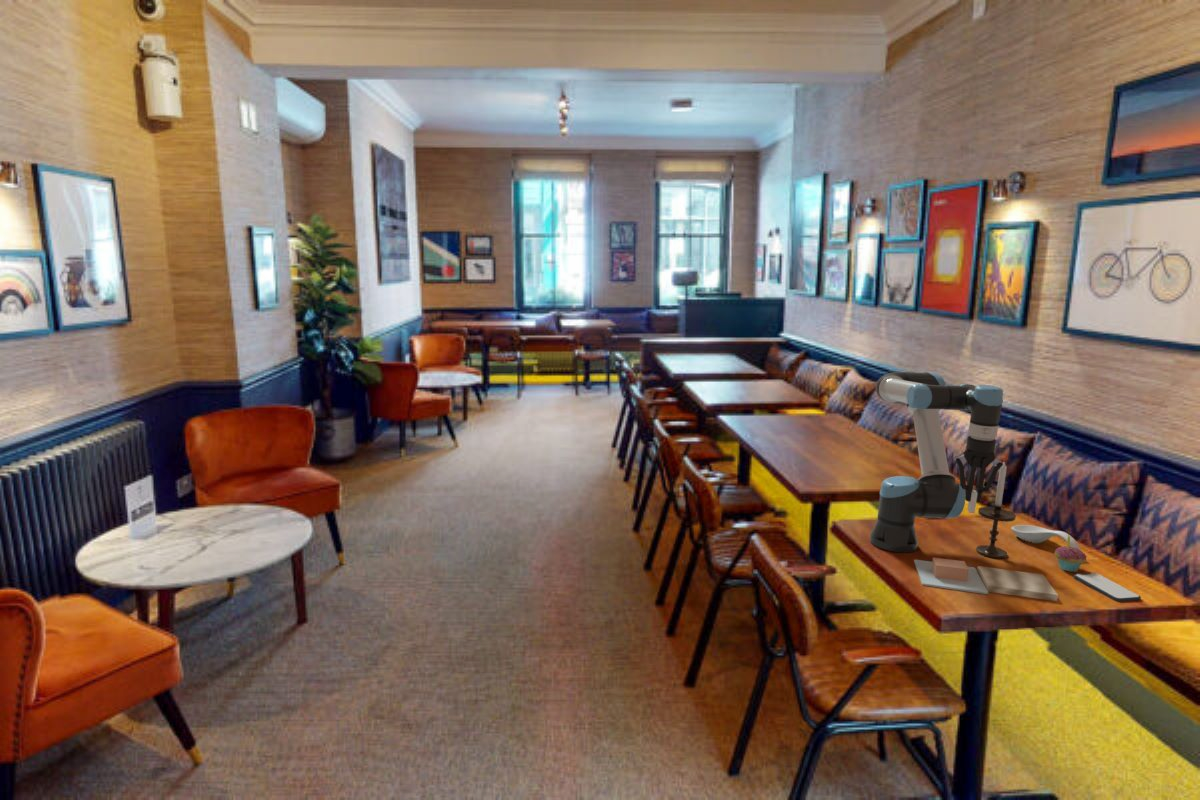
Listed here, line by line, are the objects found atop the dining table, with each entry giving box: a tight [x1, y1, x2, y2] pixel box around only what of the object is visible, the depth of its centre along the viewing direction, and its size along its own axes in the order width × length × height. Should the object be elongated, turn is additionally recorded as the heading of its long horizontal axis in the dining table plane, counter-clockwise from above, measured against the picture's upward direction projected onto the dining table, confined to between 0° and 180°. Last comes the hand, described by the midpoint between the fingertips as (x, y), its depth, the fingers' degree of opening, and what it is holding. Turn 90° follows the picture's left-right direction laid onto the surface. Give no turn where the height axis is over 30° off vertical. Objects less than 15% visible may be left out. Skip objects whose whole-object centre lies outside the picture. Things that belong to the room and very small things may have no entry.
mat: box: [913, 559, 989, 595], centre depth 212 cm, size 18×18×1 cm
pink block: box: [931, 556, 969, 582], centre depth 211 cm, size 9×6×4 cm, turn 74°
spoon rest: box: [1011, 524, 1081, 550], centre depth 237 cm, size 24×12×7 cm, turn 17°
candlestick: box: [975, 452, 1017, 560], centre depth 227 cm, size 11×11×35 cm
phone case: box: [1073, 572, 1142, 603], centre depth 206 cm, size 9×2×16 cm
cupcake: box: [1054, 533, 1087, 572], centre depth 218 cm, size 9×8×12 cm
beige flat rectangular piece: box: [976, 565, 1059, 602], centre depth 206 cm, size 18×14×2 cm
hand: (970, 511), depth 209 cm, fingers closed
